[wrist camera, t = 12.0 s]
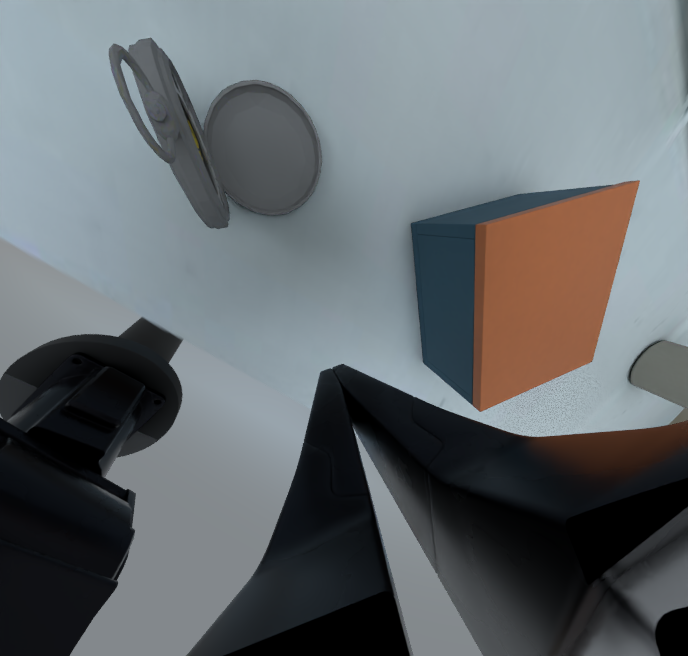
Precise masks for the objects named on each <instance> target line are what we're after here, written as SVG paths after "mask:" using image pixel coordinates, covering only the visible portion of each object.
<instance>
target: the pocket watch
mask: <svg viewBox="0 0 688 656" xmlns="http://www.w3.org/2000/svg"><path fill="white" fill-rule="evenodd" d="M128 51H129V53H128V52H127V51H126V50H125V49H124V48H123V47H121V46H119V45H117V44H113V45H112V46H111V47H110V49H109V59H110V64H111V70H112V73H113V76H114V79H115V82H116V84H117V87H118V90H119V93H120V95H121V97H122V99H123V101H124V103H125V105H126V107H127V109H128V111H129V113H130V115H131V117H132V119H133V121H134V123H135V125H136V127H137V129H138V130H139V132H140V133H141V135H142V136H143V138H144V139H145V141H146V142H147V144H148V145H149V146H150V147H151V148H152V149H153V151H154V152H155V153H156V154H157V155H158V156H159V157H160V158H161V159H163V160H164V161H165V162H167V163H169V164H170V167H171V169H172V171H173V173H174V175H175V177H176V179H177V180H178V182H179V184H180V186H181V187H182V189H183V191H184V192H185V194H186V196H187V198H188V199H189V201H190V203H191V204H192V206H193V208H194V210H195V211H196V213H197V214H198V216H199V217H200V218H201V220H202V221H203V222H204V223H205V224H206V225H207V226H208V227H209V228H217V229H220V228H226V227H228V221H229V220H230V213H229V206H228V203H227V199H226V195H225V192H226V193H227V194H228V195H229V196H230V197H231V198H232V199H234V200H235V201H236V202H237V203H238V204H240V205H242V206H243V207H245V208H247V209H249V210H251V211H253V212H257V213H261V214H265V215H281V214H287V213H289V212H291V211H293V210H295V209H297V208H299V207H300V206H301V205H303V204H304V203H305V202H306V201H307V200H308V198H309V197H310V196H311V195H312V193H313V191H314V190H315V188H316V185H317V183H318V180H319V177H320V173H321V165H322V154H321V146H320V141H319V138H318V134H317V131H316V128H315V126H314V124H313V122H312V120H311V118H310V116H309V115H308V114H307V112H306V111H305V109H304V108H303V107H302V105H301V104H300V103H299V102H298V101H297V100H296V99H295V98H294V97H293V96H292V95H291V94H289V93H288V92H286V91H284V90H283V89H281V88H280V87H278V86H275V85H273V84H271V83H268V82H264V81H259V80H250V81H241V82H238V83H236V84H233V85H230V86H228V87H227V88H225V89H224V90H222V91H221V92H220V94H219V95H218V96H217V97H216V98H215V100H214V101H213V102H212V103H211V106H210V108H209V111H208V114H207V116H206V119H205V124H204V131H203V130H202V128H201V125H200V123H199V120H198V118H197V116H196V113H195V111H194V108H193V106H192V104H191V101H190V99H189V97H188V94H187V92H186V90H185V88H184V86H183V83H182V81H181V79H180V77H179V75H178V73H177V71H176V69H175V67H174V65H173V63H172V62H171V60H170V59H169V58H168V56H167V55H166V54H165V53H164V51H163V50H162V49H161V48H159V47H158V46H157V44H156V43H155V42H154V41H153V40H152V38H147V39H142V40H139V41H138V42H137V43H136V44H134V45H129V50H128ZM122 59H123V60H124V61H125V62H126V63H127V64H128V65H129V66H130V67H131V69H132V71H133V74H134V77H135V80H136V83H137V86H138V89H139V92H140V95H141V98H142V101H143V104H144V107H145V110H146V113H147V115H148V118H149V120H150V122H151V124H152V126H153V129H154V131H155V133H156V135H157V138H158V140H159V142H160V144H161V147H162V148H161V147H160V146H159V145H158V144H157V143H156V141H155V140H154V138H153V137H152V136H151V134H150V133H149V131H148V130H147V128H146V127H145V125H144V123H143V121H142V119H141V117H140V115H139V113H138V111H137V109H136V107H135V106H134V104H133V102H132V100H131V98H130V94H129V91H128V88H127V85H126V82H125V79H124V76H123V72H122V69H121V66H120V64H121V61H122ZM224 191H225V192H224Z"/></svg>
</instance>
